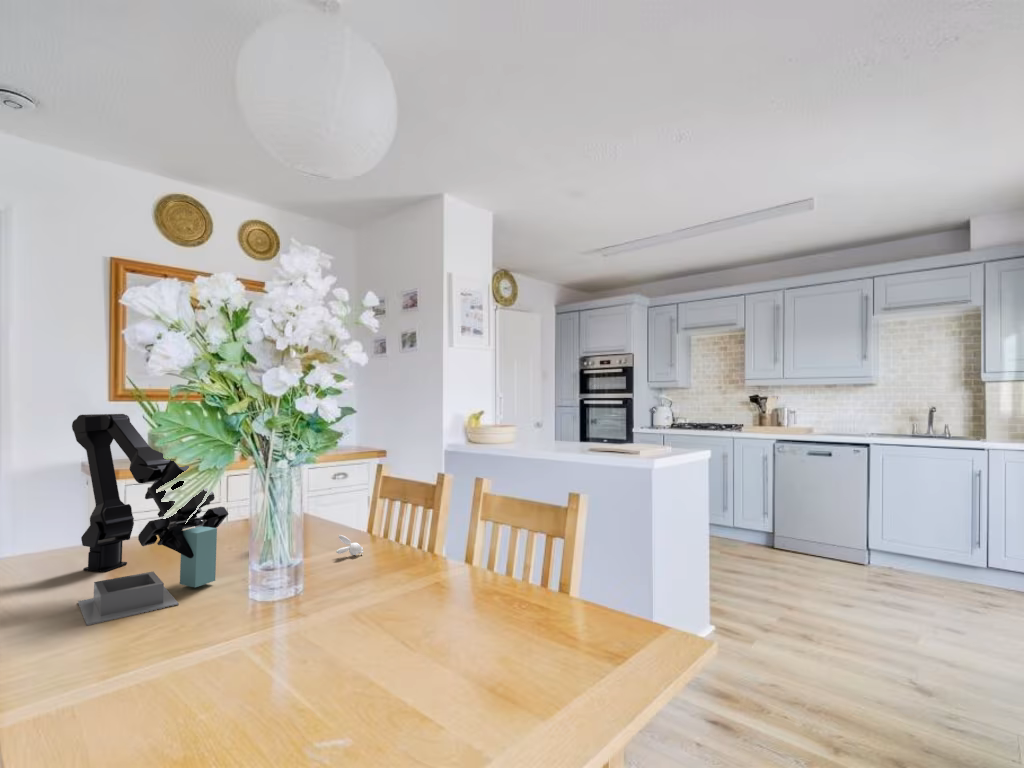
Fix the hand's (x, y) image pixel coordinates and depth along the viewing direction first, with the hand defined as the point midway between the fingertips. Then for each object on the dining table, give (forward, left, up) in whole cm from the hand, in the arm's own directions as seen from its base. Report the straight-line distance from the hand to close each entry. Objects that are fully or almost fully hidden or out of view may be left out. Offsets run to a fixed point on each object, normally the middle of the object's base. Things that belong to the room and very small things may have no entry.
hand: (203, 554), depth 122 cm
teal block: (0, -1, -7) cm, 7 cm away
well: (+12, -8, -7) cm, 16 cm away
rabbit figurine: (-28, +22, -8) cm, 36 cm away
